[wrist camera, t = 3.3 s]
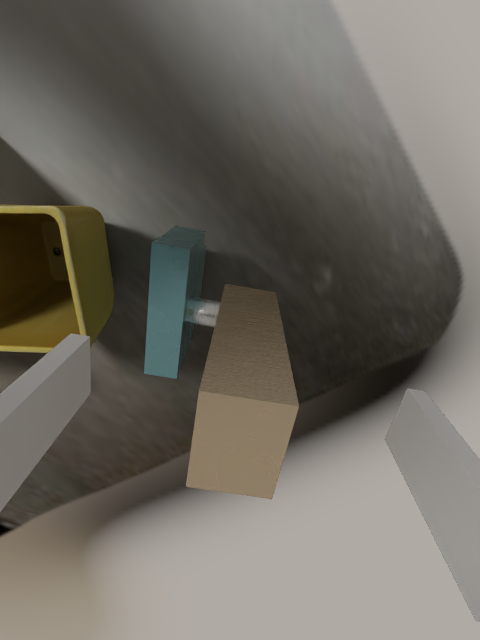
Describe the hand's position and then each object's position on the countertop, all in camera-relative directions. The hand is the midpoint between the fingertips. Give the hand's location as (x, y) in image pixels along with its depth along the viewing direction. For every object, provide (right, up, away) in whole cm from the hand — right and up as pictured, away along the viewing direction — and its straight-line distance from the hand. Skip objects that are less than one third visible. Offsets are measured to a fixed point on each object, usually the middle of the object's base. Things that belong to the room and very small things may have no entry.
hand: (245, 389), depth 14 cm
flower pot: (-13, +9, +13) cm, 21 cm away
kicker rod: (-2, +6, +13) cm, 14 cm away
